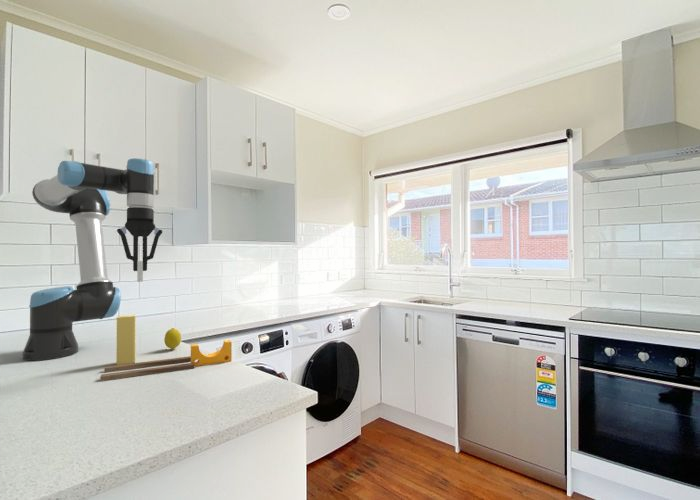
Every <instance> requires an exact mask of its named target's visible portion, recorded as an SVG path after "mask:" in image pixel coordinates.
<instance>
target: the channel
mask: <svg viewBox="0 0 700 500" xmlns="http://www.w3.org/2000/svg"><path fill="white" fill-rule="evenodd" d="M173 364H174V365H173ZM158 366H159V367H158ZM191 368H192V369H195V367H194V363H191V355H189V356H183V357H182V356H181V357H174V358H166V359H164V358H163V359H157V360H149V361H147V360H146V361H142V362H135V363H130V364H121V365H116V364H115V365H107V366H105V367H104V368H103V371H104V374H100V377H99V379H100V382H103V380H104V381H110V380H118V379H117V378H119V379H125V378H124V377H126V378H132V377H131V376H133V377H138V376H139V375H141V376H145V375H155V373H156V374H160V373H161V374H163V373H169V372H176V371H177V370H178V371H182V370H184V369H185V370H190V369H191ZM111 372H112V373H111ZM139 377H140V376H139Z"/></svg>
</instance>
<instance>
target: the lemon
mask: <svg viewBox="0 0 700 500" xmlns="http://www.w3.org/2000/svg"><path fill="white" fill-rule="evenodd" d="M165 332H166V333H165V335H164V345H165V346H166V347H167V348H169V349H171V351H172V350H175V349H176V348H178V347H179V346H180V343H181V341H182V335H181V332H180V330H178V329H176V328H175V327H172V328H171V329H168V330H167V331H165Z"/></svg>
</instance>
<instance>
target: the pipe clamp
mask: <svg viewBox="0 0 700 500" xmlns="http://www.w3.org/2000/svg"><path fill="white" fill-rule="evenodd" d="M190 356H191V361H190V363H194V366H195V367H200V366H199V365H202V366H207V365H206V364H209V365H214V363H215V364H223V363H228V362H232V341H231V340H223V344H222V346H221V348H220V349H217V350H216V351H214V352H211V353H208V354H204V353H202V352H201V350H200V347H199V344H198V343H197V344H196V343H195V344H190Z"/></svg>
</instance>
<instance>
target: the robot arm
mask: <svg viewBox="0 0 700 500" xmlns="http://www.w3.org/2000/svg"><path fill="white" fill-rule="evenodd" d="M125 167H126V169H120V168H114V167H107V166H101V165H95V164H90V163H85V162H80V161H76V160H75V161H73V160H72V161H71V160H61V162H60V163H59V165H58V166H57V174H56V175H54V176H53V177H51V178H49V179H48V178H47V179H42V180H40V181H38V182H37V183H36V184H35V185H34V186H33V188H32V191H31V195H32V197H33V199H34V201H35V202H36V203H37V204H38V205H39V206H40V207H42V208H44V209H46V210H48V211H50V212H54V213H61V214H69V220H70V221H72V222H74V224H75V232H76V234H75V235H76V246H77V255H78V256H77V257H78V265H79V276H80V282H79V283H77V284H76V286H75V287H76V289H74V288H73V287H72V286H61V287H52V288H46V289H40V290H37V291H35V292H33V293H31V295H30V301H29V306H28V307H29V336H28V339H27V341H26V343H25V346H24V348H23V351H22V360H25V361H44V360H52V359H53V360H54V359H58V358H65V357H68V356H72V355H75V354H77V353H79V344H78V341H77V338H76V335H75V334H74V331H73V323H76V322H85V321H92V320H103V319H108V318H111V317H114V316H115V315H117V313H118V311H119V310H120V305H121V300H122V296H121V294H122V293H121V290H120V289H119V287H116V286H114V282H113V281H112V280H110V279H109V278H108V269H107V268H108V267H107V260H106V259H107V258H106V252H105V244H104V234H103V225H102V222H103V221H104V220H105V219H106V216H108V215H109V213H110V211H111V208H110V207H111V200H110V197H109V194H108V193H107V192H114V193H115V194H119V195H126V206H127V208H126V222H125V224H124V226H122V227H121V228H117V229H116V232H117V234H118V235H119V236H120V238H121V242H122V245H123V249H124V252H125V253H124V254H125V256H126V259H128V260H131V261H132V263H133V264H132V267H133V272H137V276H136V277H137V279H136V280H137V283H138V282H139V283H140V282H144V272H146V271H147V270H148V262H149V260H152V259H153V258H154V257H155V252H156V249H157V245H158V241H159V238H160V237H161V236H162V234H163V230H162V229H159V228H157V227H156V224H155V221H154V218H155V217H154V216H155V215H154V213H155V211H154V206H155V205H154V204H155V203H154V202H155V194H154V193H155V192H154V189H155V188H154V187H155V172H154V170H155V169H154V168H155V167H154V163H153V161H151V160H148V159H145V158H129V159H128V160H127V163H126V166H125ZM127 231H128V232H129V234H130V235H131V236H132V237H133V238H132V239H133V243H132V244H133V246H132V248H133V249H132V252H133V254H131V250H130V246H129V243H128V239H127V236H126V234H127ZM153 231H154V232H153ZM152 232H153V234H154V237H153V241H152V244H151V249H150V252H149V255H148V237H149V236H150V235H151V234H152ZM140 237H142V260H139V238H140Z"/></svg>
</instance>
